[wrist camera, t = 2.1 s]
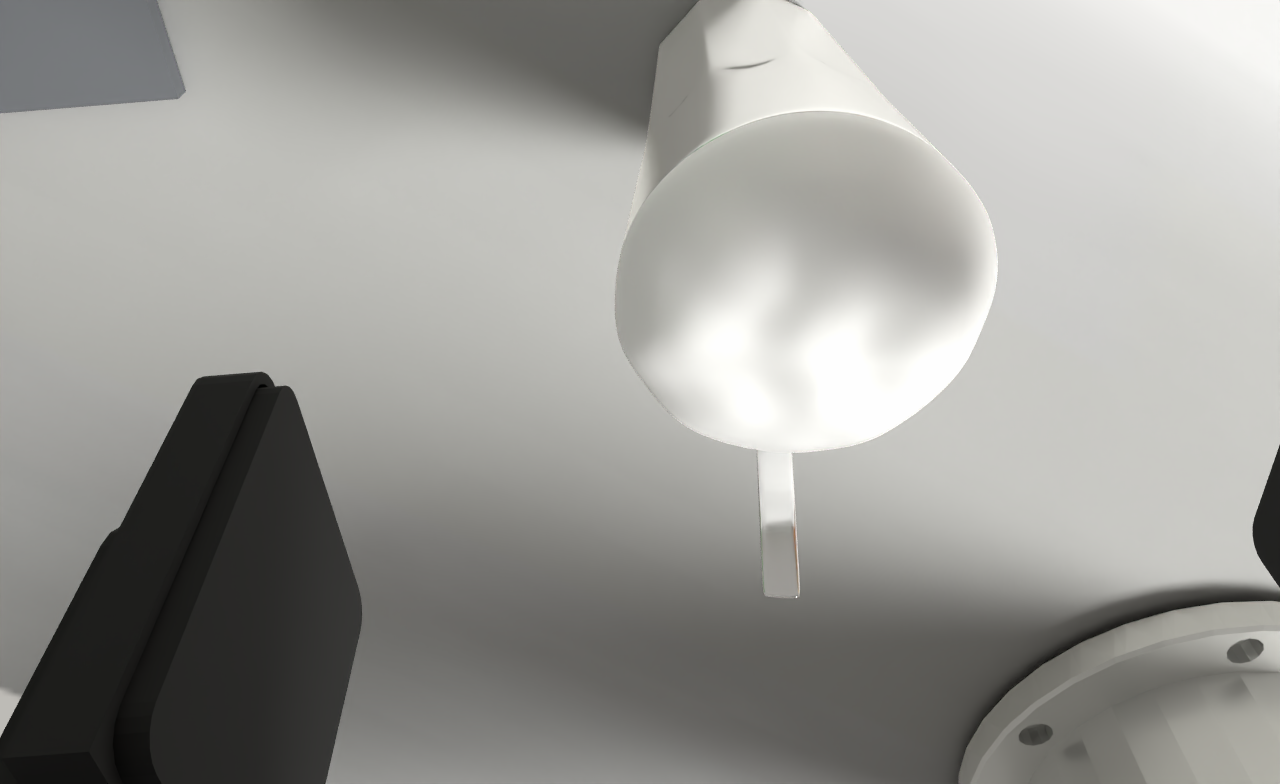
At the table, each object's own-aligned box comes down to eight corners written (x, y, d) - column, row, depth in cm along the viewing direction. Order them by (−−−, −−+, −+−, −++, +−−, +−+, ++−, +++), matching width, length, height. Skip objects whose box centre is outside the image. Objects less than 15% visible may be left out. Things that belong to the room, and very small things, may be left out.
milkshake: (603, 222, 21) (593, 587, 13) (629, -67, 18) (636, 170, 10) (831, 241, 22) (961, 609, 13) (893, -40, 19) (1110, 211, 10)
